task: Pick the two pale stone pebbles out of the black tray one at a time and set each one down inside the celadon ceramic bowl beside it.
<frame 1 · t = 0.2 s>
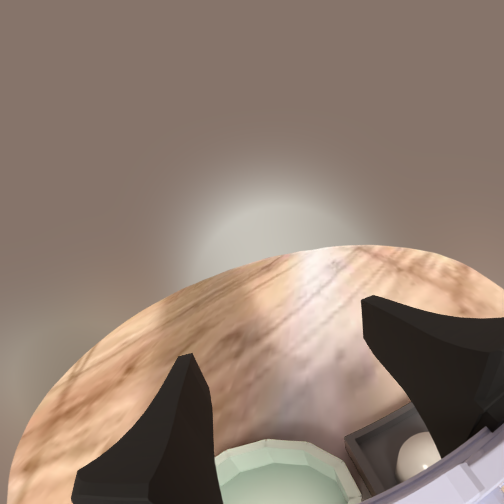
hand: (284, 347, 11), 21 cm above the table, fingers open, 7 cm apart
pebble b: (417, 471, 17), point 1 cm above the table, touching tray
tray: (442, 457, 18), on the table
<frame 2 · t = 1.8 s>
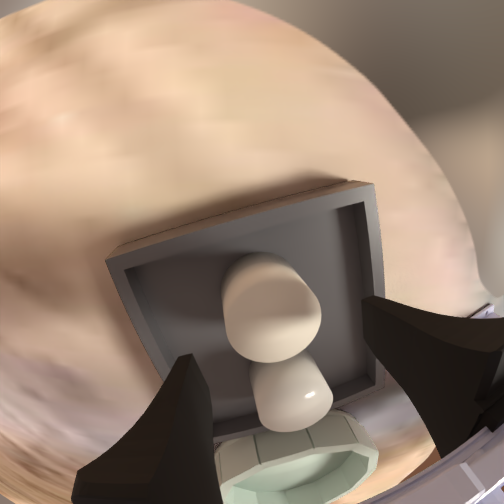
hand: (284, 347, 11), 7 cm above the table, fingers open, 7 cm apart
pebble b: (281, 369, 19), point 1 cm above the table, touching tray
pebble a: (259, 289, 17), point 1 cm above the table, touching tray
tray: (268, 325, 19), on the table
bowl: (289, 456, 24), on the table
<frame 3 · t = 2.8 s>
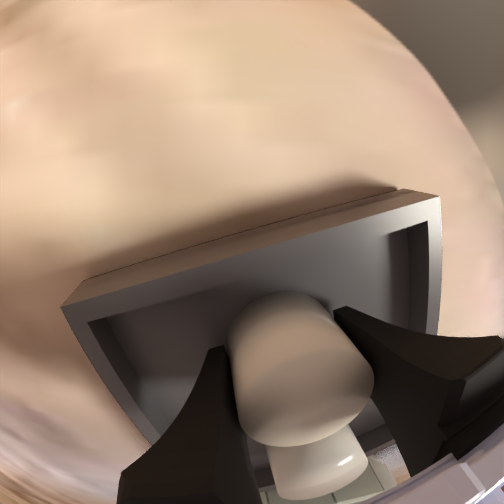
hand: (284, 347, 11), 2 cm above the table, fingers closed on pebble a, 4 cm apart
pebble b: (302, 424, 14), point 1 cm above the table, touching tray
pebble a: (280, 339, 12), point 1 cm above the table, touching gripper, tray
tray: (288, 376, 14), on the table
bowl: (301, 496, 19), on the table
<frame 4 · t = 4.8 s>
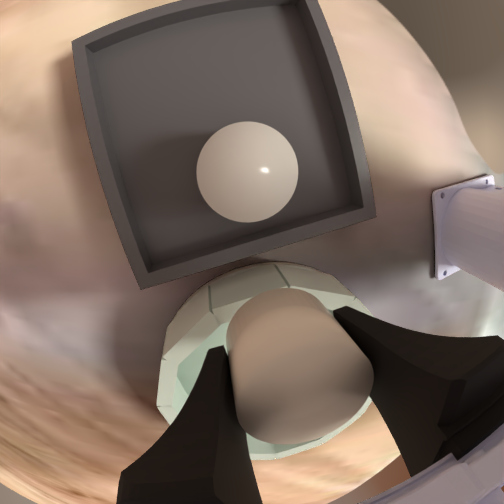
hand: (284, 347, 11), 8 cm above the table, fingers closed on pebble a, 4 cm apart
pebble b: (238, 170, 16), point 1 cm above the table, touching tray
pebble a: (279, 337, 12), point 8 cm above the table, touching gripper
tray: (222, 119, 16), on the table
bowl: (267, 358, 21), on the table
when the fingers open (3 cm above the table, at t = 6.9 s): pebble a drops 2 cm, resting on bowl.
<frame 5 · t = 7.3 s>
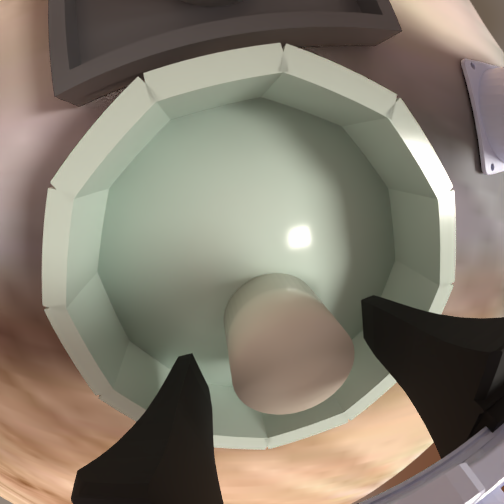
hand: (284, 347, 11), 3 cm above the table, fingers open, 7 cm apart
pebble a: (272, 318, 13), point 1 cm above the table, touching bowl
bowl: (254, 259, 13), on the table
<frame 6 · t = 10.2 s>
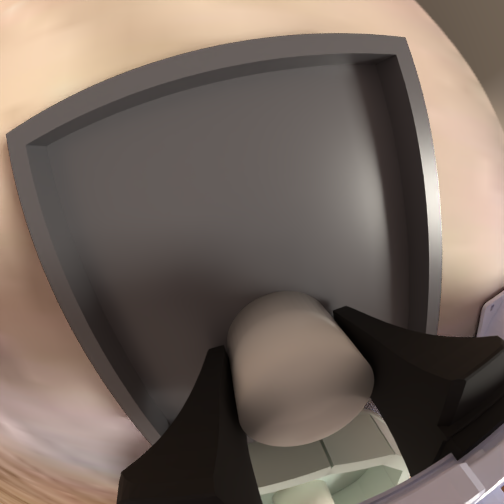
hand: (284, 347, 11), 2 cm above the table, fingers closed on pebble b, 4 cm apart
pebble b: (280, 339, 12), point 1 cm above the table, touching gripper, tray
pebble a: (299, 492, 17), point 1 cm above the table, touching bowl
tray: (258, 262, 12), on the table
bowl: (291, 471, 17), on the table
when the fingers open (3 cm above the table, at t = 13.3 s): pebble b drops 2 cm, resting on bowl.
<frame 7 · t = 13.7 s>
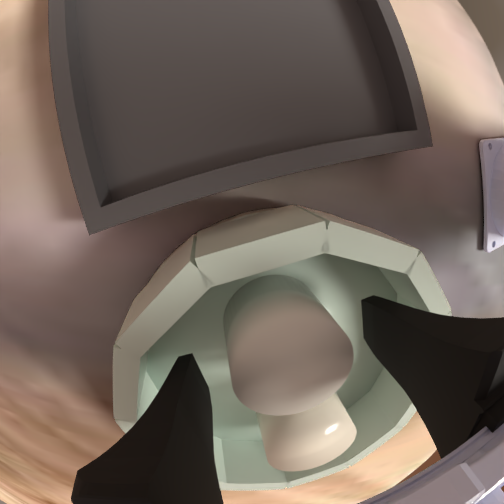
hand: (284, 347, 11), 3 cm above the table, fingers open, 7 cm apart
pebble b: (271, 319, 13), point 1 cm above the table, touching bowl
pebble a: (292, 396, 15), point 1 cm above the table, touching bowl
tray: (224, 17, 10), on the table
bowl: (279, 353, 15), on the table
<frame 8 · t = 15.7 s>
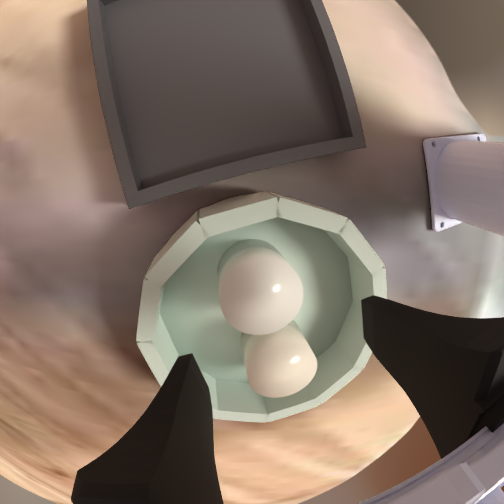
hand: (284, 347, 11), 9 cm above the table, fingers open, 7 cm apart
pebble b: (251, 272, 19), point 1 cm above the table, touching bowl
pebble a: (270, 339, 21), point 1 cm above the table, touching bowl
tray: (217, 60, 16), on the table
bowl: (259, 302, 21), on the table
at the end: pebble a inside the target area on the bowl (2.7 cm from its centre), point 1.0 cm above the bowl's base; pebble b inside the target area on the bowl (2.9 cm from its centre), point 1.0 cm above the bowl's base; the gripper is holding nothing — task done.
